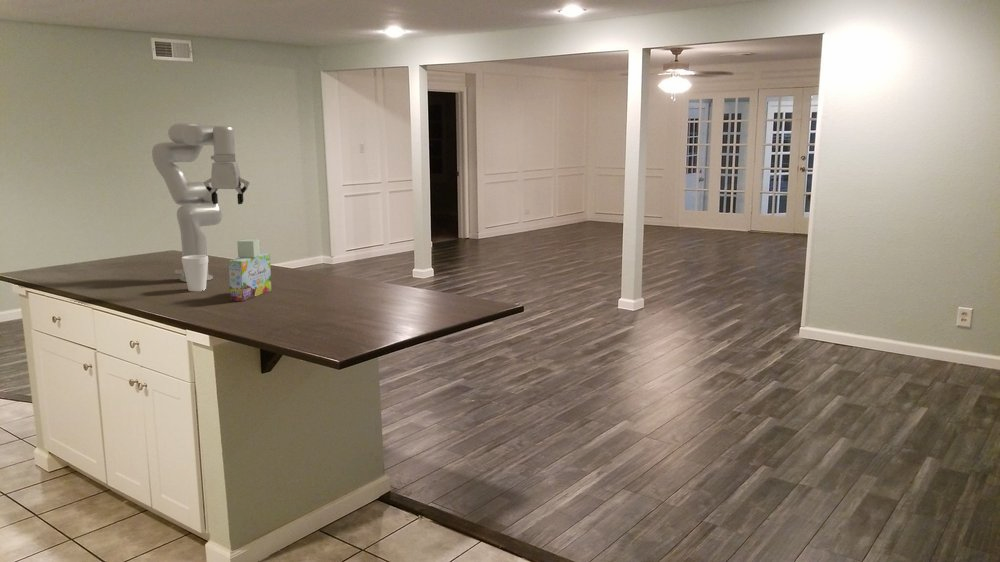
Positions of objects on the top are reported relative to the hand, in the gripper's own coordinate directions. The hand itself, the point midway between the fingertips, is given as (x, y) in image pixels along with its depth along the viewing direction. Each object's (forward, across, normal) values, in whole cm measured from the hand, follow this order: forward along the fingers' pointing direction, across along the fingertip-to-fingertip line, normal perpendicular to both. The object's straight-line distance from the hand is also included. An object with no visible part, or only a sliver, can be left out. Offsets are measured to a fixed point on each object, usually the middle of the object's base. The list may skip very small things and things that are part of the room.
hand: (227, 203), depth 287 cm
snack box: (+34, +12, -13) cm, 38 cm away
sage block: (+18, +12, -13) cm, 25 cm away
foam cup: (+34, -13, -3) cm, 36 cm away
